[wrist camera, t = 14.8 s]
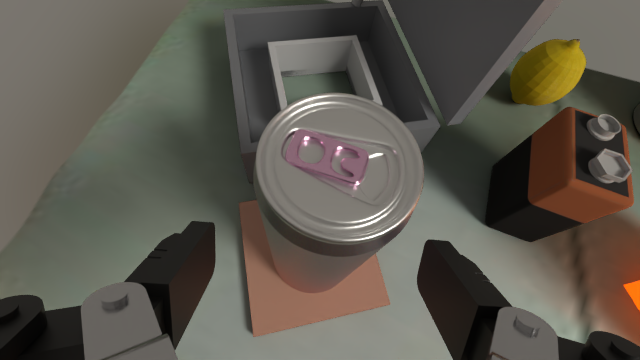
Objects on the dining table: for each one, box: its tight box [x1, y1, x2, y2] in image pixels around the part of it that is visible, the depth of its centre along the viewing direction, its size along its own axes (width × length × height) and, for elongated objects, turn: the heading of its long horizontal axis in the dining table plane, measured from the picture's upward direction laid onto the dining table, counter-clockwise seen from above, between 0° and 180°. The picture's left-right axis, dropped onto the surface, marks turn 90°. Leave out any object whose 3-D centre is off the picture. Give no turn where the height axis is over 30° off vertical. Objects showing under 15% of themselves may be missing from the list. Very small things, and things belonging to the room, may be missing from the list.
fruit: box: [510, 39, 586, 106], centre depth 30 cm, size 6×6×8 cm
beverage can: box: [253, 93, 424, 293], centre depth 17 cm, size 6×6×15 cm
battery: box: [485, 107, 634, 242], centre depth 23 cm, size 4×7×10 cm, turn 159°
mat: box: [239, 200, 390, 337], centre depth 24 cm, size 10×10×1 cm
